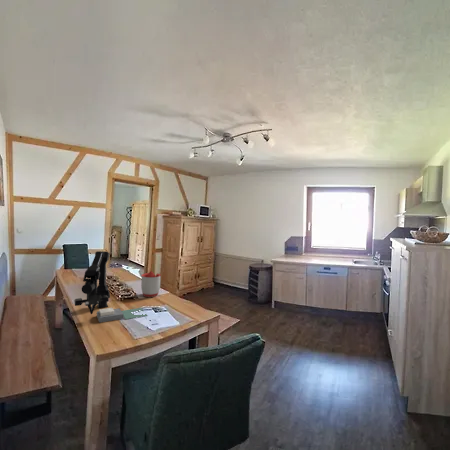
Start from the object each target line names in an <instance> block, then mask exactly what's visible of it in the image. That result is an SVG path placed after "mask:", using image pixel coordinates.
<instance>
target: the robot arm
mask: <svg viewBox="0 0 450 450" xmlns="http://www.w3.org/2000/svg"><path fill="white" fill-rule="evenodd" d="M94 253H95V254H94V256H93V257H94V258H93V260H92V263H91V265H90V266H88V267H87V268H86V270H85V272H84V276H83V280H82V282H85V283H84V284H83V285H82V287H81V292H82V293H83V294H85V295H86V299H83V298H81V297H80V298H75V299H74V306H75V307H76V306H78V307H79V306H82V305H83V304H84V305H85V306H87V307H88V309H89V313H90V315H92V314H93V313H94V311H95V308H96V306H97V308H98V309H104V308H109V305H108V302H109V299H110V298H111V293H110V290H109V286H108V285H107V282H106V281H107V263H108V262H109V259H110V256H111V255H110V252H109V251H104V250H102V251H101V250H99V251H96V252H94Z"/></svg>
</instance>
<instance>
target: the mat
mask: <svg viewBox="0 0 450 450" xmlns="http://www.w3.org/2000/svg"><path fill="white" fill-rule="evenodd" d="M137 310H143V308H141V307H138V308H131V309H125V310H121V311H122V313H123V319H125V320H131V318H132V319H137V318H136V317H138V318H142V317H141V316H144V317H148V314H147V313H146V314H145V315H143V314H142V315H134V314H132V313H131V312H133V311H137Z"/></svg>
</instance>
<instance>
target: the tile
mask: <svg viewBox="0 0 450 450" xmlns="http://www.w3.org/2000/svg"><path fill="white" fill-rule="evenodd" d="M114 309H115V308H113V307H105V308H98V311H99V314H100V316H105V315H112V314H114Z"/></svg>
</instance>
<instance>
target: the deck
mask: <svg viewBox="0 0 450 450" xmlns="http://www.w3.org/2000/svg"><path fill="white" fill-rule="evenodd" d="M113 309H114V314H112V315H105V316H100V314H99V310H98V311H96V318H97V321H98V323H99V324H100V323H105V322H111V321H117V320H118V321H119V320H124V316H123V313H122V311H123V310H121V308H113Z"/></svg>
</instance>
